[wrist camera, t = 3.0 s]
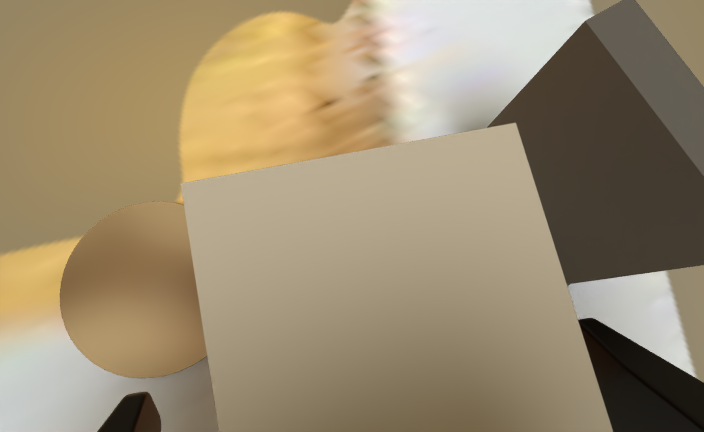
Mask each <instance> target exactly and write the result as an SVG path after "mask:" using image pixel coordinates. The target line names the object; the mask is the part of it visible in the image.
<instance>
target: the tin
mask: <svg viewBox="0 0 704 432" xmlns="http://www.w3.org/2000/svg"><path fill="white" fill-rule="evenodd" d="M181 189H182V195H183V202H184V208H185V215H186V221H187V228H188V234H189V241H190V247H191V254H192V260H193V266H194V273H195V279H196V286H197V292H198V299H199V305H200V312H201V318H202V325H203V331H204V338H205V344H206V351H207V357H208V364H209V370H210V377H211V383H212V390H213V396H214V402H215V409H216V415H217V422H218V428H219V432H613V430H612V426H611V423H610V420H609V417H608V414H607V411H606V407H605V404H604V401H603V398H602V395H601V392H600V388H599V385H598V382H597V379H596V376H595V373H594V369H593V366H592V363H591V360H590V357H589V353H588V350H587V347H586V344H585V341H584V338H583V334H582V331H581V328H580V325H579V322H578V319H577V315H576V312H575V309H574V306H573V303H572V300H571V296H570V293H569V290H568V287H567V284H566V281H565V277H564V274H563V271H562V268H561V265H560V261H559V258H558V255H557V252H556V249H555V246H554V242H553V239H552V236H551V233H550V230H549V227H548V223H547V220H546V217H545V214H544V211H543V208H542V204H541V201H540V198H539V195H538V192H537V188H536V185H535V182H534V179H533V176H532V173H531V169H530V166H529V163H528V160H527V157H526V154H525V150H524V147H523V144H522V141H521V138H520V135H519V131H518V128H517V125H516V123H511V124H506V125H500V126H495V127H489V128H484V129H478V130H473V131H467V132H462V133H456V134H451V135H445V136H440V137H434V138H429V139H423V140H418V141H412V142H407V143H401V144H396V145H390V146H385V147H379V148H374V149H368V150H363V151H357V152H352V153H346V154H341V155H335V156H330V157H324V158H319V159H313V160H308V161H302V162H297V163H291V164H285V165H280V166H274V167H269V168H263V169H258V170H252V171H247V172H241V173H236V174H230V175H225V176H219V177H214V178H208V179H203V180H197V181H192V182H186V183H181Z"/></svg>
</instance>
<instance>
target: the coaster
mask: <svg viewBox="0 0 704 432" xmlns="http://www.w3.org/2000/svg"><path fill="white" fill-rule="evenodd" d="M60 307H61V313H62V318H63V321H64V325H65V328H66V330H67V332H68V334H69V336H70V338H71V340H72V341H73V343H74V344H75V345H76V347H77V348H78V349H79V350H80V351H81V353H82V354H83V355H84V356H85V357H86V358H88V359H89V360H90V361H92V362H93V363H94V364H96V365H97V366H99V367H101V368H103V369H104V370H107V371H109V372H112V373H114V374H117V375H121V376H125V377H132V378H154V377H160V376H166V375H169V374H172V373H176V372H178V371H181V370H183V369H185V368H188V367H190V366H192V365H194V364H195V363H197V362H199V361H200V360H202V359H203V358H204V357H206V356H207V351H206V344H205V338H204V331H203V325H202V318H201V312H200V305H199V299H198V292H197V286H196V279H195V273H194V266H193V260H192V254H191V247H190V241H189V234H188V228H187V221H186V215H185V208H184V205H181V204H177V203H172V202H146V203H139V204H135V205H131V206H128V207H126V208H123V209H120V210H118V211H116V212H114V213H112V214H110V215H108V216H107V217H105V218H104V219H102V220H101V221H100V222H98V223H97V224H96V225H95V226H94V227H92V228H91V229H90V230H89V231H88V232H87V233H86V234H85V235H84V236H83V237H82V239H81V240H80V241H79V243H78V244H77V245H76V247H75V248H74V250H73V252H72V254H71V255H70V257H69V259H68V262H67V264H66V267H65V269H64V273H63V277H62V281H61V288H60Z"/></svg>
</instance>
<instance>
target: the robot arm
mask: <svg viewBox="0 0 704 432" xmlns="http://www.w3.org/2000/svg"><path fill="white" fill-rule="evenodd" d="M578 322H579V325H580V328H581V331H582V334H583V338H584V341H585V344H586V347H587V350H588V353H589V357H590V360H591V363H592V366H593V369H594V373H595V376H596V379H597V382H598V385H599V388H600V392H601V395H602V398H603V401H604V404H605V407H606V411H607V414H608V417H609V420H610V423H611V426H612V430H613V432H704V383H703V382H702V381H700V380H698V379H696V378H695V377H693V376H691V375H690V374H688V373H686V372H684V371H683V370H681V369H679V368H678V367H676V366H674V365H673V364H671V363H669V362H667V361H666V360H664V359H662V358H661V357H659V356H657V355H656V354H654V353H652V352H650V351H649V350H647V349H645V348H644V347H642V346H640V345H639V344H637V343H635V342H633V341H632V340H630V339H628V338H627V337H625V336H623V335H622V334H620V333H618V332H616V331H615V330H613V329H611V328H610V327H608V326H606V325H604V324H603V323H601V322H599V321H598V320H596V319H593V318H586V319H580V320H578ZM98 432H161V419H160V415H159V413H158V411H157V408H156V406H155V404H154V402H153V400H152V397H151V395H150V394H149V393H148V392H139V393H133V394H129V395H127V396H125V397H124V398H123V399H122V400H121V402H120V403H119V404H118V405H117V407H116V408H115V409H114V411H113V412H112V413H111V415H110V416H109V417H108V419H107V420H106V421H105V423H104V424H103V425H102V426H101V428H100V429H99V430H98Z"/></svg>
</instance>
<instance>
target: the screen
mask: <svg viewBox="0 0 704 432" xmlns="http://www.w3.org/2000/svg"><path fill="white" fill-rule="evenodd" d="M511 123H516V125H517V128H518V131H519V135H520V138H521V141H522V144H523V147H524V150H525V154H526V157H527V160H528V163H529V166H530V169H531V173H532V176H533V179H534V182H535V185H536V188H537V192H538V195H539V198H540V201H541V204H542V208H543V211H544V214H545V217H546V220H547V223H548V227H549V230H550V233H551V236H552V239H553V242H554V246H555V249H556V252H557V255H558V258H559V261H560V265H561V268H562V271H563V274H564V277H565V281H566V284H567V286H568V285H570V284H572V283H579V282H586V281H593V280H600V279H608V278H615V277H622V276H629V275H636V274H643V273H650V272H657V271H665V270H672V269H679V268H686V267H693V266H700V265H704V87H703V86H702V84H701V83H700V82H699V80H698V79H697V78H696V77H695V75H694V74H693V73H692V71H691V70H690V69H689V68H688V66H687V65H686V64H685V63H684V61H683V60H682V59H681V58H680V56H679V55H678V54H677V53H676V51H675V50H674V49H673V47H672V46H671V45H670V44H669V42H668V41H667V40H666V39H665V37H664V36H663V35H662V33H661V32H660V31H659V30H658V28H657V27H656V26H655V25H654V23H653V22H652V21H651V20H650V18H649V17H648V16H647V14H646V13H645V12H644V11H643V9H642V8H641V7H640V6H639V4H638V3H637V2H636V1H635V0H622V1H620V2H619V3H617V4H615V5H613V6H611V7H609V8H608V9H606V10H604V11H602V12H600V13H599V14H597V15H595V16H593V17H591V18H590V19H588V20H586V21H585V22H584V23H583V24H582V25H581V26H580V27H579V28H578V29H577V30H576V31H575V33H574V34H573V35H572V36H571V37H570V38H569V39H568V40H567V41H566V42H565V43H564V44H563V46H562V47H561V48H560V49H559V50H558V51H557V52H556V53H555V54H554V55H553V56H552V58H551V59H550V60H549V61H548V62H547V63H546V64H545V65H544V66H543V67H542V68H541V69H540V71H539V72H538V73H537V74H536V75H535V76H534V77H533V78H532V79H531V80H530V81H529V83H528V84H527V85H526V86H525V87H524V88H523V89H522V90H521V91H520V92H519V93H518V94H517V96H516V97H515V98H514V99H513V100H512V101H511V102H510V103H509V104H508V105H507V106H506V108H505V109H504V110H503V111H502V112H501V113H500V114H499V115H498V116H497V117H496V118H495V119H494V121H493V122H492V123H491V124H490V125H489V126H488V127H487V128H489V127H495V126H500V125H506V124H511Z"/></svg>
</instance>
